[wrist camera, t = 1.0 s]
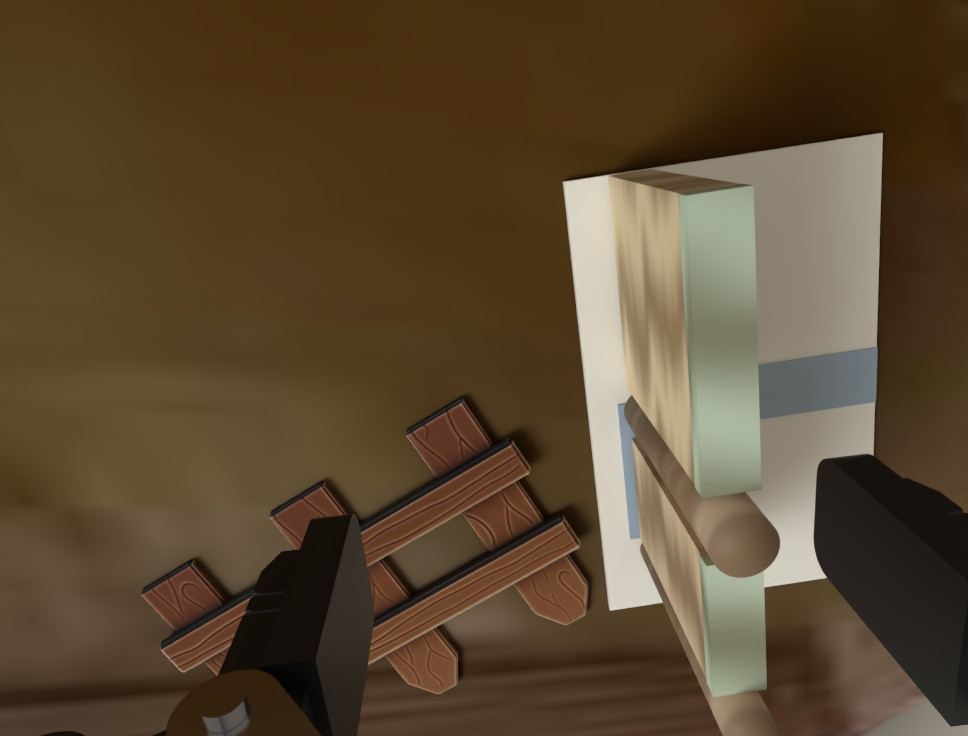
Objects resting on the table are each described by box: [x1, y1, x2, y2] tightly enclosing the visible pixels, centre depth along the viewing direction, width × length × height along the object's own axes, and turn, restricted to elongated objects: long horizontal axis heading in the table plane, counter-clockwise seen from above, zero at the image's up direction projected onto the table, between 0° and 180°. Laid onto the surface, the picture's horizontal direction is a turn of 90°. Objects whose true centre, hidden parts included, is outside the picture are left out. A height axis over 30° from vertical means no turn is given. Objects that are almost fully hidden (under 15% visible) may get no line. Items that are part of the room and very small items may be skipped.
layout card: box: [563, 133, 883, 610], centre depth 37 cm, size 24×15×1 cm, turn 8°
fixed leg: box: [624, 395, 780, 736], centre depth 32 cm, size 10×2×13 cm, turn 8°
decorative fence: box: [141, 398, 588, 694], centre depth 40 cm, size 23×2×15 cm
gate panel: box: [608, 169, 762, 498], centre depth 29 cm, size 10×2×12 cm, turn 8°
